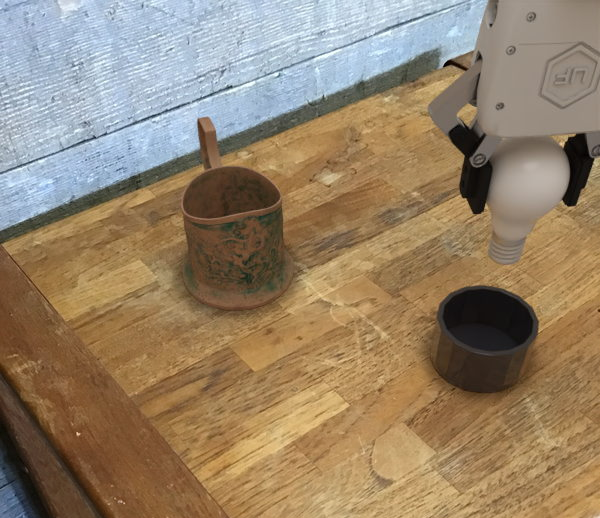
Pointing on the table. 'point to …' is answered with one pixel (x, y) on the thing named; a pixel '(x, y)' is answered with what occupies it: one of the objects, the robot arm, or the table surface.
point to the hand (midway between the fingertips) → (518, 197)
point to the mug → (233, 233)
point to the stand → (483, 338)
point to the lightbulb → (523, 191)
